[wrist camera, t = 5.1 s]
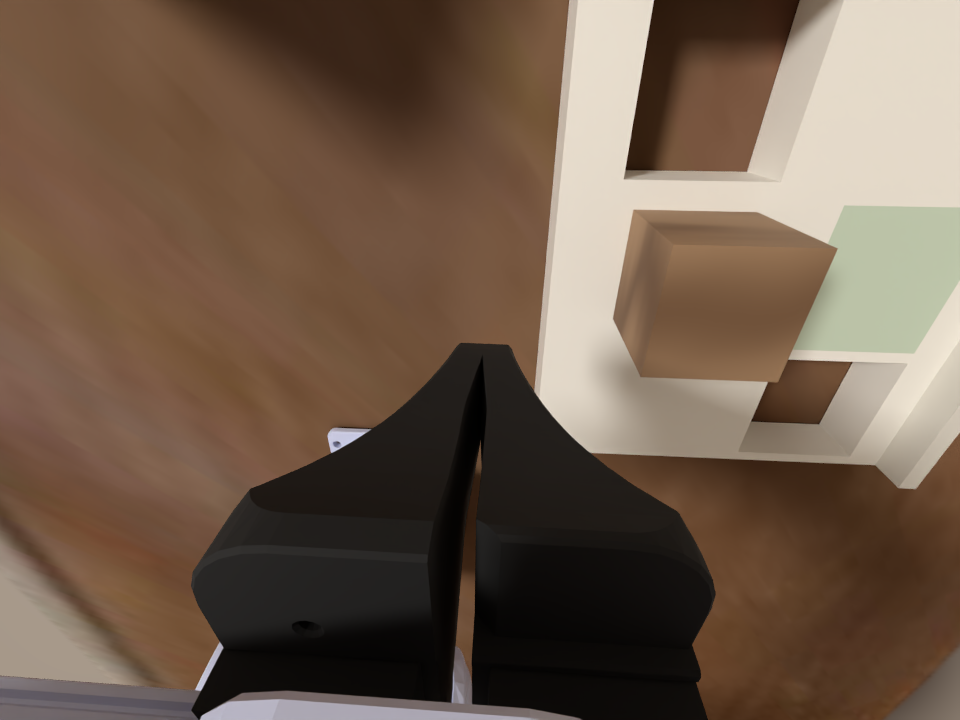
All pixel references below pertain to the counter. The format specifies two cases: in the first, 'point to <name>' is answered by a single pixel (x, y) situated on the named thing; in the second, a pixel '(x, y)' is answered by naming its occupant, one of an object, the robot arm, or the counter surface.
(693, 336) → the block
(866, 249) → the board
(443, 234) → the counter surface
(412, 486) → the robot arm
